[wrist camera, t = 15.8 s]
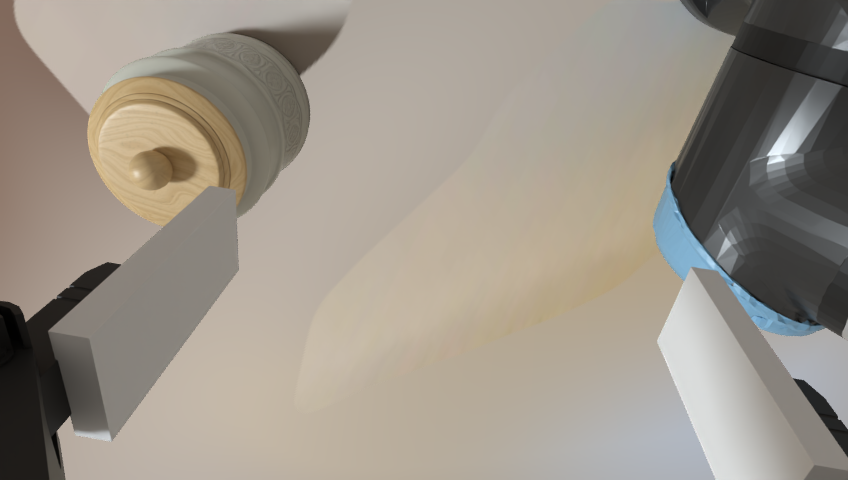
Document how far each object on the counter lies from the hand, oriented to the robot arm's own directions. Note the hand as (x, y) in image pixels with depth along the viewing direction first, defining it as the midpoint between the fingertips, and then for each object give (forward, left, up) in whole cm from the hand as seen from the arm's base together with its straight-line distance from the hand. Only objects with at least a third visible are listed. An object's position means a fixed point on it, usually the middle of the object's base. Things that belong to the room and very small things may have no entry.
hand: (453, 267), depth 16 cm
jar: (+20, +8, -35) cm, 41 cm away
